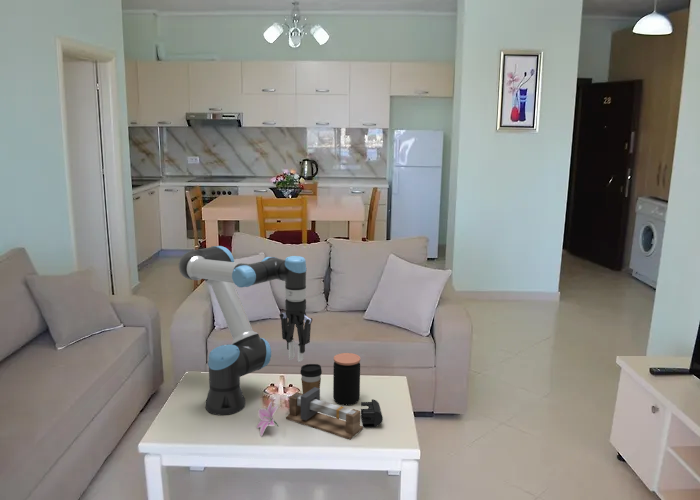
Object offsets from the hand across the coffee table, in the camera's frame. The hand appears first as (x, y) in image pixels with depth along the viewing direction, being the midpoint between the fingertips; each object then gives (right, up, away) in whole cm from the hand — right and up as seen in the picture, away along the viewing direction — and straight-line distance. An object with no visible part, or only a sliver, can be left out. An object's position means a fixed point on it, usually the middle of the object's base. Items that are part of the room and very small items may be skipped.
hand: (296, 359), depth 224 cm
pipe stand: (+10, -24, -1) cm, 26 cm away
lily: (-10, -25, -6) cm, 27 cm away
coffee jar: (+19, -20, +18) cm, 32 cm away
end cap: (+28, -24, +1) cm, 37 cm away
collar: (+5, -21, +1) cm, 22 cm away
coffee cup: (+5, -20, +16) cm, 26 cm away
